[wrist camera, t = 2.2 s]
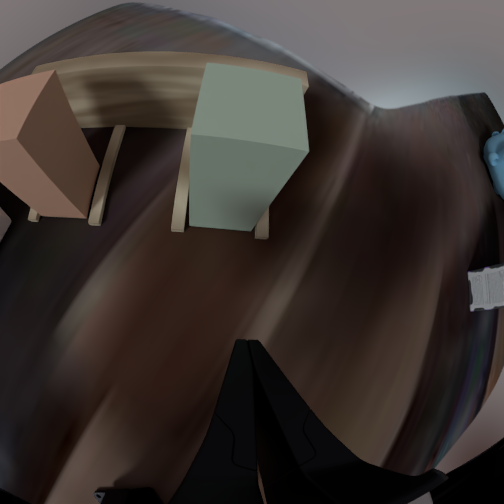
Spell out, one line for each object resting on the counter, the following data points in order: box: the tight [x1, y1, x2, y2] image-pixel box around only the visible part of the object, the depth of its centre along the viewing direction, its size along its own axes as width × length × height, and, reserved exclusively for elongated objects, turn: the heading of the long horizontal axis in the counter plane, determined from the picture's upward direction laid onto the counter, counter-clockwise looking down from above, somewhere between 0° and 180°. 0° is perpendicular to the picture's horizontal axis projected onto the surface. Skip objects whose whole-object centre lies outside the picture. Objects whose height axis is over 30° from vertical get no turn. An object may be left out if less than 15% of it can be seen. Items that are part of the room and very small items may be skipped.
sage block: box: [189, 63, 309, 231], centre depth 17 cm, size 5×5×12 cm
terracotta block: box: [0, 70, 100, 218], centre depth 14 cm, size 5×5×12 cm
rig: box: [28, 52, 309, 239], centre depth 18 cm, size 12×24×8 cm, turn 88°
